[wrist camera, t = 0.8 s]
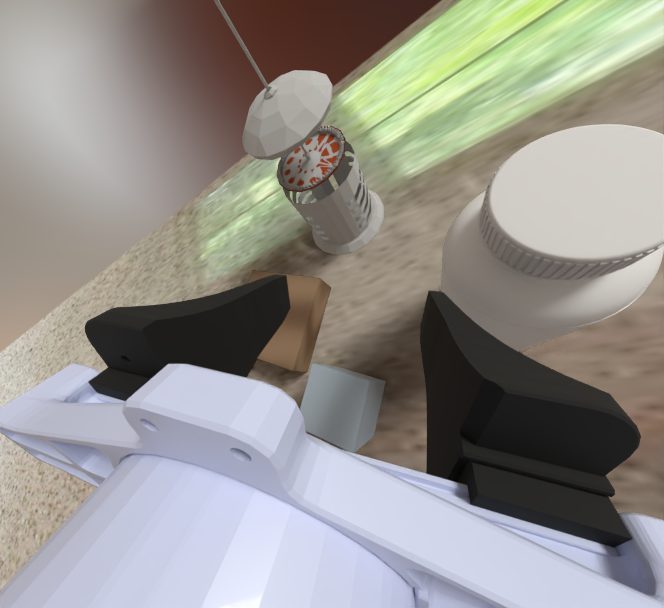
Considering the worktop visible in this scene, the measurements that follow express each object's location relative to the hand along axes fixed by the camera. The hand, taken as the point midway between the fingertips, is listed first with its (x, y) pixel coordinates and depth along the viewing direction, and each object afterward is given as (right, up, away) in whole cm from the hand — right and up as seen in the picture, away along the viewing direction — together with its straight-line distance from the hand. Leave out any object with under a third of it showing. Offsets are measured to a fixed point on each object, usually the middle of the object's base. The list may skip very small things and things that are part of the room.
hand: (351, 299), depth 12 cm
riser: (-7, -2, +17) cm, 19 cm away
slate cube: (+1, -10, +11) cm, 15 cm away
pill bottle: (+13, -1, +9) cm, 16 cm away
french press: (+1, +11, +18) cm, 22 cm away
